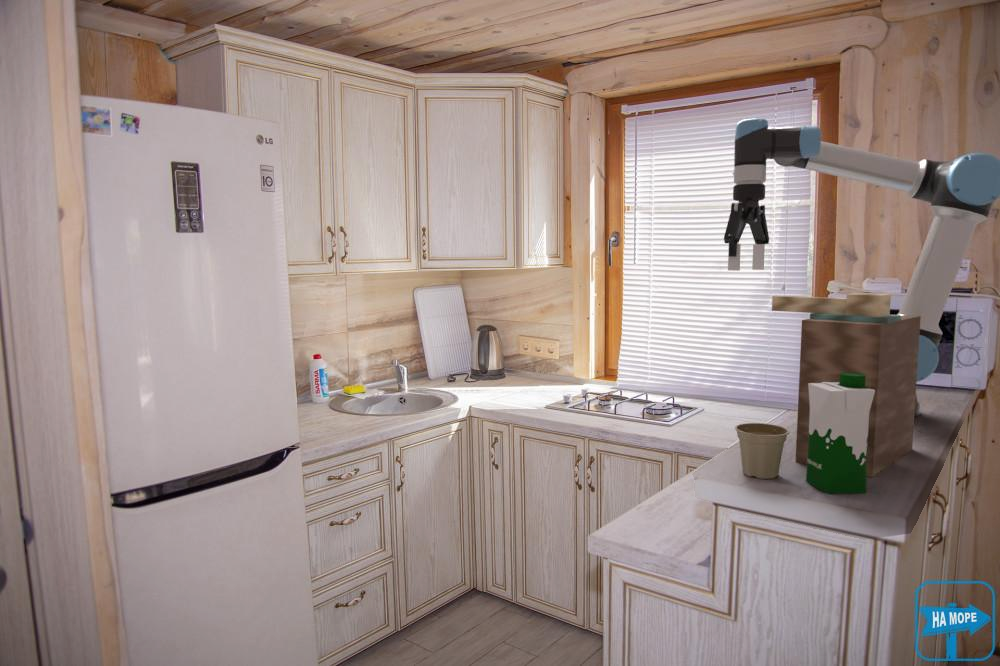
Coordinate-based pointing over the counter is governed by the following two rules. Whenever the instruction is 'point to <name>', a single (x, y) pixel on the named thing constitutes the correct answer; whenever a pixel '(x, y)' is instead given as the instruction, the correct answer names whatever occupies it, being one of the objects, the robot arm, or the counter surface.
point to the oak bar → (836, 304)
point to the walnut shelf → (888, 368)
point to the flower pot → (761, 448)
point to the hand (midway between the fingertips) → (746, 270)
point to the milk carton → (839, 434)
